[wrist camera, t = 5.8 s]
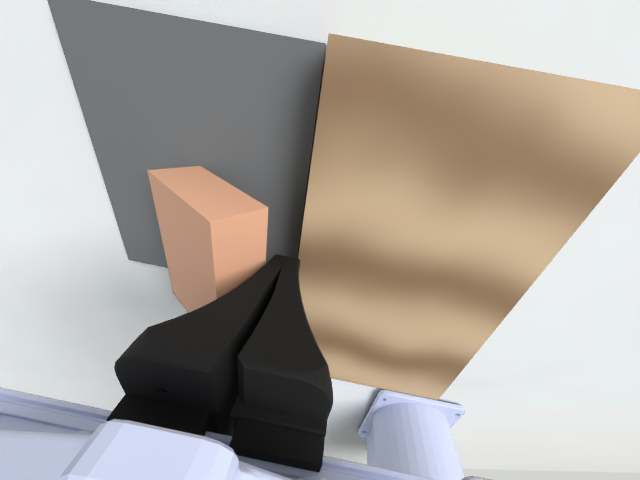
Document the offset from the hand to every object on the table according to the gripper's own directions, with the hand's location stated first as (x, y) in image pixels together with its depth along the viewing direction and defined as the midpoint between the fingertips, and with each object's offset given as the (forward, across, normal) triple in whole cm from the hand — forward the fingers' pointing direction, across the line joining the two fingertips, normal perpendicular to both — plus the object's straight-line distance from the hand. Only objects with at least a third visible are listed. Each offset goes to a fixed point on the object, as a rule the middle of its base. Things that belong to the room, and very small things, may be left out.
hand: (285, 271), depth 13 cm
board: (+3, -6, 0) cm, 7 cm away
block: (+1, +3, 0) cm, 3 cm away
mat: (+3, +6, -3) cm, 7 cm away
